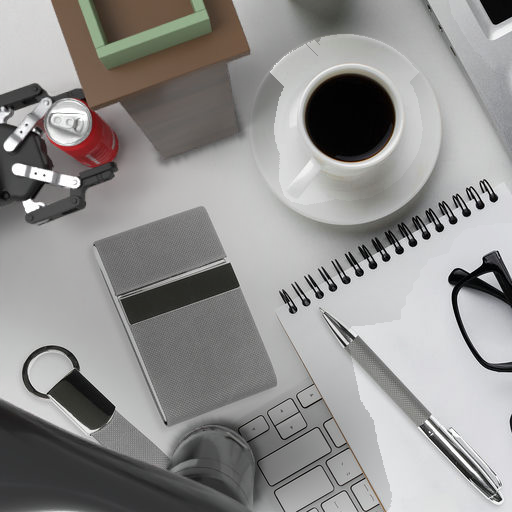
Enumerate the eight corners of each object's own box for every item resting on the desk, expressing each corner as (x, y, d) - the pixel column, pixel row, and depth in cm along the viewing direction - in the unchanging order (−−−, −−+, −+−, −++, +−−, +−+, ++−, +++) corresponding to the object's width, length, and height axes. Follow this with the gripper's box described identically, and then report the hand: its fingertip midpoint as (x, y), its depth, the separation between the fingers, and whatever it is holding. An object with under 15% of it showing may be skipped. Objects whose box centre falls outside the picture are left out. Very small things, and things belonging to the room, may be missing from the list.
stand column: (238, 132, 77) (224, 42, 48) (164, 159, 77) (105, 85, 48) (211, 60, 78) (181, -74, 49) (138, 86, 78) (63, -31, 49)
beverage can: (115, 173, 77) (88, 153, 65) (71, 164, 77) (36, 142, 65) (125, 129, 77) (99, 101, 65) (80, 120, 77) (47, 90, 65)
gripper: (-39, 247, 66) (119, 189, 66) (-86, 111, 67) (70, 54, 67) (-9, 251, 74) (133, 199, 74) (-51, 128, 74) (90, 77, 74)
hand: (103, 130), depth 70 cm, fingers open, 7 cm apart
